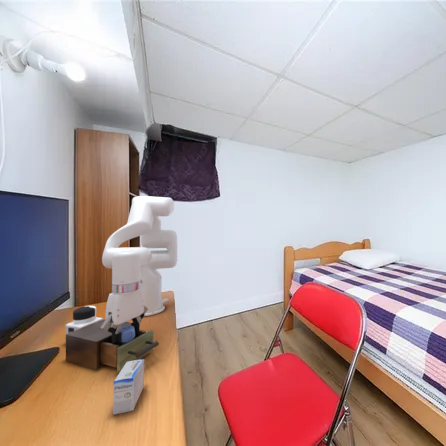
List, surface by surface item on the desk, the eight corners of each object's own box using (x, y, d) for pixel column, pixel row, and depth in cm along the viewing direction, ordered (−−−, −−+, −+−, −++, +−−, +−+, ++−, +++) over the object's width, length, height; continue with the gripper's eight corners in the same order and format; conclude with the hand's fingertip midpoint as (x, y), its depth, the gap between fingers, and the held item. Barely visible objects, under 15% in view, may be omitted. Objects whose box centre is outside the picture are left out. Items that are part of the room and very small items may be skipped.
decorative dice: (120, 344, 71) (120, 332, 71) (118, 339, 74) (118, 328, 73) (135, 339, 74) (135, 328, 74) (132, 335, 76) (132, 324, 76)
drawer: (164, 352, 76) (164, 332, 76) (131, 375, 65) (132, 351, 65) (125, 343, 81) (125, 324, 81) (89, 363, 70) (89, 341, 70)
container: (80, 347, 80) (80, 312, 80) (64, 344, 82) (65, 310, 81) (103, 336, 88) (103, 304, 87) (88, 333, 89) (88, 302, 89)
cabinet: (135, 347, 81) (135, 323, 81) (96, 369, 69) (96, 341, 68) (107, 340, 85) (107, 318, 84) (65, 361, 72) (65, 334, 72)
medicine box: (125, 391, 60) (125, 361, 60) (144, 387, 62) (144, 358, 62) (112, 416, 53) (112, 381, 53) (134, 410, 54) (134, 377, 54)
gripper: (142, 279, 82) (141, 325, 83) (88, 294, 66) (88, 351, 66) (157, 281, 80) (157, 328, 81) (106, 297, 64) (106, 356, 64)
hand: (126, 338), depth 74 cm, fingers closed on decorative dice, 5 cm apart
